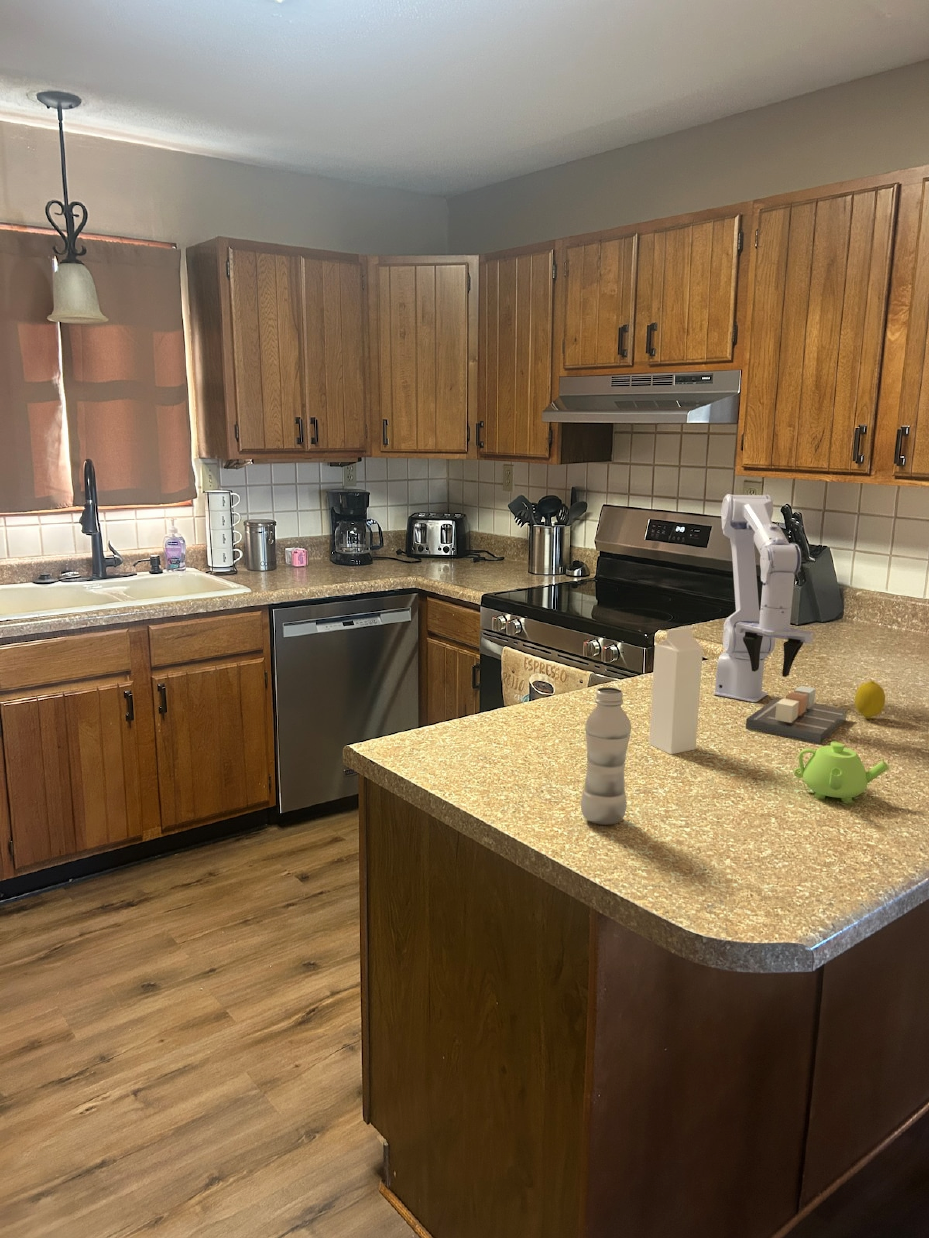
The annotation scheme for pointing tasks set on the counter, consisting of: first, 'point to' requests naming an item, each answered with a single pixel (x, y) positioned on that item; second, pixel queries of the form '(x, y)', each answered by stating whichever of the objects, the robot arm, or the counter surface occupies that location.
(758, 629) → the robot arm
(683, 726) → the milk
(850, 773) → the teapot
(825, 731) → the panel
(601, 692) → the plastic bottle
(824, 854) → the counter surface
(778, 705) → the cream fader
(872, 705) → the lemon
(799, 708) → the block
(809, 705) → the block
